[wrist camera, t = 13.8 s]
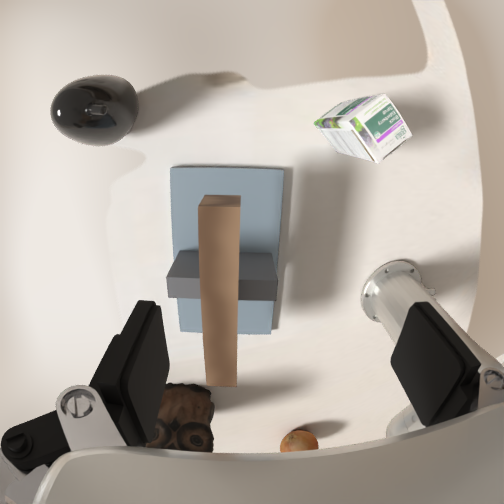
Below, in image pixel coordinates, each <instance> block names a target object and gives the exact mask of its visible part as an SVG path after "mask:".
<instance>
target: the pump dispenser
mask: <svg viewBox="0 0 504 504" xmlns="http://www.w3.org/2000/svg"><path fill="white" fill-rule="evenodd" d="M50 111H51V118H52V121H53V123H54V125H55V127H56V128H57V129H58V130H59V131H60V132H61V133H62V134H63V135H65V136H66V137H68V138H70V139H72V140H74V141H77V142H79V143H82V144H86V145H92V146H106V145H111V144H114V143H116V142H118V141H119V140H121V139H122V138H123V137H124V136H125V135H126V134H127V133H128V132H129V131H130V129H131V128H132V126H133V124H134V122H135V120H136V117H137V113H138V98H137V94H136V92H135V90H134V88H133V86H132V85H131V84H130V83H129V82H128V81H126V80H125V79H123V78H121V77H118V76H113V75H93V76H88V77H84V78H80V79H78V80H75V81H73V82H71V83H69V84H67V85H66V86H65V87H63V88H62V89H61V90H60V91H59V92H58V94H56V96H55V97H54V99H53V102H52V105H51V110H50Z"/></svg>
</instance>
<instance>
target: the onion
mask: <svg viewBox="0 0 504 504" xmlns="http://www.w3.org/2000/svg"><path fill="white" fill-rule="evenodd" d="M317 449H318V441H317V439H316V438H315V436H314V435H313V434H312V433H310V432H308V431H303V430H297V431H293V432H290V433H289V434H287V435H286V436H285V437H284V439H283V440H282V442H281V445H280V451H281V452H295V451H307V450H317Z"/></svg>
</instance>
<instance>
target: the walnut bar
mask: <svg viewBox="0 0 504 504" xmlns="http://www.w3.org/2000/svg"><path fill="white" fill-rule="evenodd" d="M240 208H241V195H204V197H203V199H202V200H201V202H200V204H199V205H198V243H199V274H200V297H201V315H202V331H203V346H204V359H205V371H206V383H207V386H227V387H237V326H238V280H239V241H240Z"/></svg>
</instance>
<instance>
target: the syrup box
mask: <svg viewBox="0 0 504 504" xmlns="http://www.w3.org/2000/svg"><path fill="white" fill-rule="evenodd" d="M314 124H315V126H316V127H317V128H318V129H319V131H320V132H321V133H322V134H323V135H324V137H325V138H326V139H327V140H328V142H329V143H330V144H331V145H332V147H333V148H334V149H335V151H336V152H338V153H342V154H346V155H350V156H353V157H357V158H361V159H364V160H368V161H371V162H375V163H380V162H381V161H382V160H383V159H385V158H386V157H387V156H389V155H390V154H391V153H393V152H394V151H395V150H397V149H398V148H399V147H400V146H401V145H403V144H404V143H405V142H406V141H407V140H408V139H410V138H411V137H412V136H413V135H412V133H411V131H410V130H409V128H408V126H407V124H406V123H405V121H404V119H403V118H402V116H401V114H400V113H399V111H398V110H397V108H396V107H395V105H394V104H393V103H392V101H391V100H390V99H389V97H388V96H387V95H386V94H385V93H384V94H379V95H374V96H369V97H363V98H358V99H354V100H349V101H345V102H342V103H340V104H338V105H337V106H335V107H334V108H332V109H331V110H330V111H328V112H327V113H326V114H324V115H323V116H322V117H320V118H319V119H318V120H317V121H315V122H314Z"/></svg>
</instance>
